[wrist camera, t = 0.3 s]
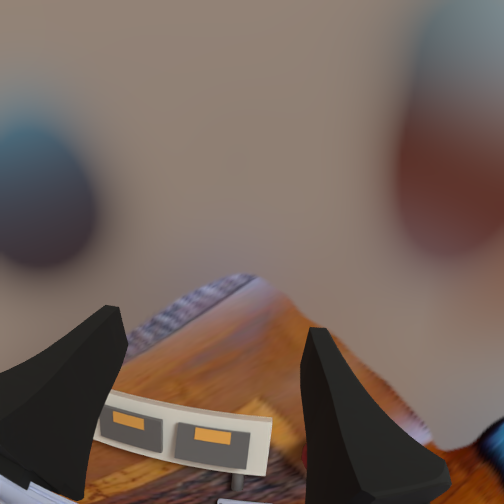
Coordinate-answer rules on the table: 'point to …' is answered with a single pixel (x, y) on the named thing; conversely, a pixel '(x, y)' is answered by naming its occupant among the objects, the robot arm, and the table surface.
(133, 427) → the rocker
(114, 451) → the table surface
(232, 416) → the rocker switch panel
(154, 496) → the table surface
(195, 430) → the rocker
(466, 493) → the table surface
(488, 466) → the table surface
